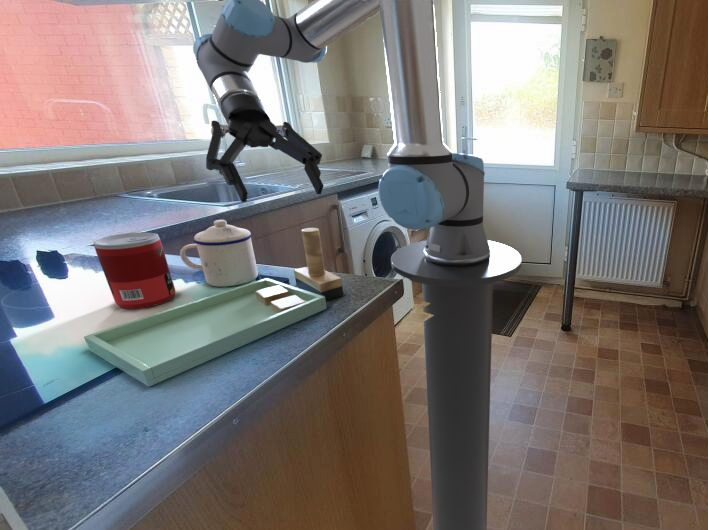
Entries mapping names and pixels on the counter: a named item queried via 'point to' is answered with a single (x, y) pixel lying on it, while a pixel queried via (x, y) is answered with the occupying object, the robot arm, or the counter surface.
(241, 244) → the teacup with lid
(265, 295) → the cork piece
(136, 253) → the canned food
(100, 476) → the counter surface
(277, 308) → the cork piece
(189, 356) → the tray
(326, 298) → the brush
